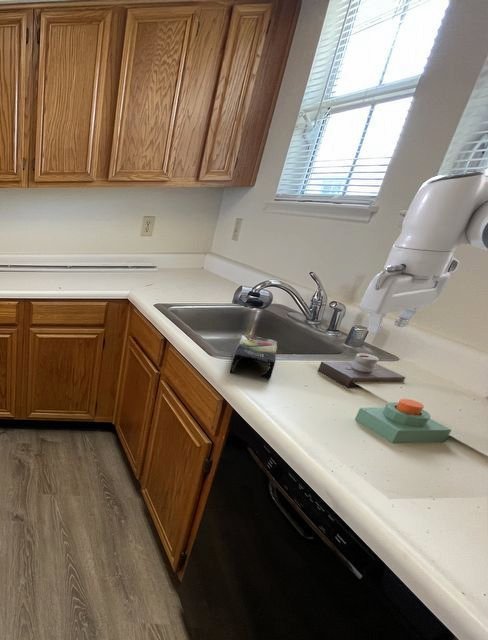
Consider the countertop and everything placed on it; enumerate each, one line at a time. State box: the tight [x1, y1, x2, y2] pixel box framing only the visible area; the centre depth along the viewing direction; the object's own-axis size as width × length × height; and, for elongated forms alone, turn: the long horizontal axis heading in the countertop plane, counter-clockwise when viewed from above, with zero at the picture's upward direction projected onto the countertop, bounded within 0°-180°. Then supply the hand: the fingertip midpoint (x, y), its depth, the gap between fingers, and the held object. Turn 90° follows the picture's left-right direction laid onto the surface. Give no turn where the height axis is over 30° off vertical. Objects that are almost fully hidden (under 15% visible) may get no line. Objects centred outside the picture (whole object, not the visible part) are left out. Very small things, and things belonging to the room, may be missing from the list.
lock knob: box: [351, 352, 379, 372], centre depth 107 cm, size 4×4×4 cm
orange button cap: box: [396, 398, 425, 415], centre depth 85 cm, size 4×4×2 cm
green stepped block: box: [354, 401, 452, 444], centre depth 86 cm, size 11×9×5 cm
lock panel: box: [317, 360, 406, 389], centre depth 109 cm, size 14×10×3 cm
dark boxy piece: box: [229, 334, 278, 380], centre depth 116 cm, size 20×10×6 cm, turn 147°
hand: (386, 328), depth 89 cm, fingers open, 8 cm apart
